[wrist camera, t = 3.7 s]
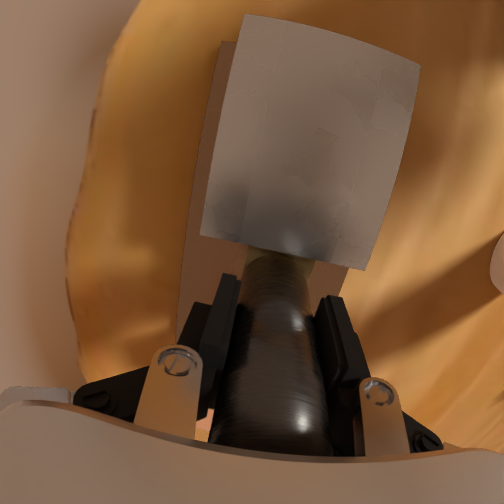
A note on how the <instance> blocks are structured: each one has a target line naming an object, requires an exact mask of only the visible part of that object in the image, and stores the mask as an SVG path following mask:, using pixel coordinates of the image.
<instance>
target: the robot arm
mask: <svg viewBox="0 0 504 504" xmlns="http://www.w3.org/2000/svg"><path fill="white" fill-rule="evenodd" d="M236 279H237V276H236V275H231V274H227V273H223V274H222V277H221V280H220V283H219V286H218V289H217V292H216V295H215V298H214V301H213V304H212V305H209V304H205V303H200V302H196V301H195V302H194V304H193V306H192V308H191V311H190V313H189V316H188V318H187V320H186V323H185V325H184V328H183V330H182V332H181V335H180V337H179V340H178V342H177V344H172V345H166V346H164V347H161V348H159V349H158V350H157V351H156V352H155V353H154V355H153V357H152V360H151V364H150V366H146V367H143V368H140V369H137V370H133V371H130V372H127V373H123V374H120V375H117V376H113V377H110V378H106V379H102V380H99V381H95V382H92V383H88V384H86V385H83V386H82V387H81V388H79V389H78V390H77V391H76V392H75V391H74V392H73V391H69V389H68V388H41V387H21V386H15V387H9V388H8V389H5V390H4V391H3V392H2V393H1V395H0V504H504V456H503V455H501V454H499V453H497V452H495V451H492V450H487V449H483V448H460V447H457V446H455V445H452V444H449V443H446V442H444V443H443V444H442V442H441V440H440V439H439V437H438V436H437V435H436V434H434V433H433V432H432V431H430V430H429V429H427V428H426V427H424V426H423V425H422V424H420V423H419V422H417V421H416V420H414V419H413V418H412V417H410V416H409V415H407V414H406V413H404V412H403V411H402V409H401V405H400V401H399V396H398V394H397V391H396V389H395V388H394V387H393V386H392V385H391V384H390V383H389V382H387V381H385V380H383V379H381V378H377V377H371V375H370V372H369V369H368V366H367V363H366V359H365V356H364V353H363V350H362V347H361V344H360V341H359V338H358V335H357V333H355V332H354V330H353V327H352V324H351V321H350V318H349V315H348V313H347V310H346V307H345V304H344V301H343V298H342V297H338V296H333V295H327V296H326V298H324V297H322V298H321V300H320V302H319V305H318V308H317V310H316V313H315V316H314V323H315V329H316V335H317V341H318V347H319V353H320V359H321V366H322V372H323V379H324V386H325V393H326V400H327V407H328V415H329V422H330V430H331V439H332V447H333V456H334V457H324V456H303V455H289V454H279V453H269V452H261V451H253V450H246V449H240V448H234V447H228V446H222V445H217V444H212V443H207V442H202V441H198V440H194V438H195V428H196V422H197V421H199V420H201V419H204V418H206V417H207V414H208V409H213V410H214V408H215V403H216V398H217V393H218V388H219V384H220V381H221V379H222V375H223V370H224V366H225V361H226V357H227V352H228V347H229V343H230V338H231V333H232V328H233V323H234V318H235V313H236V308H237V303H238V298H239V293H240V288H241V283H242V281H241V280H236Z"/></svg>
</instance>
